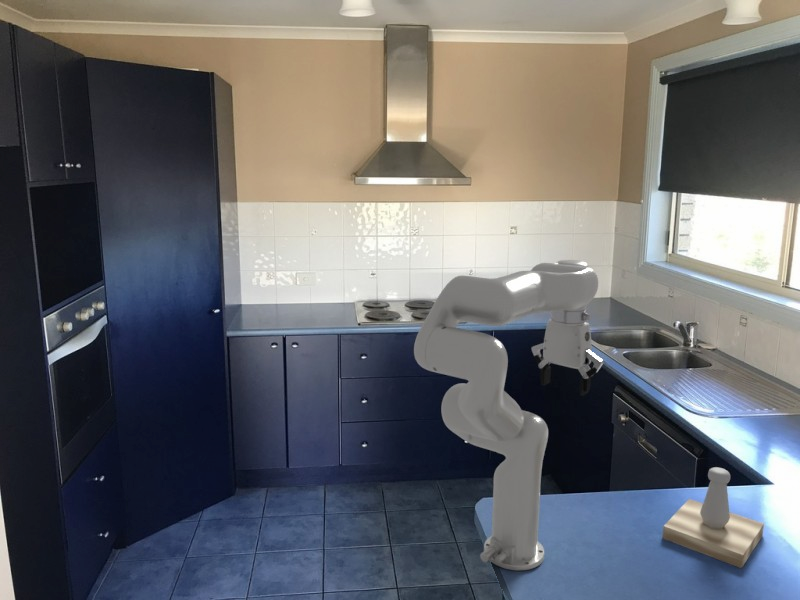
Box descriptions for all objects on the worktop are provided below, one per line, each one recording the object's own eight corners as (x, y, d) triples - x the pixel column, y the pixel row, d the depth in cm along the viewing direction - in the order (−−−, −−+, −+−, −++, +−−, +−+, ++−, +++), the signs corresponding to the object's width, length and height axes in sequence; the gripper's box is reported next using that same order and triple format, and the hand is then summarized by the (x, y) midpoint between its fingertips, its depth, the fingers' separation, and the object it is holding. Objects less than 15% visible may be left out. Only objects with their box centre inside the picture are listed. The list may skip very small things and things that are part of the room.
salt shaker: (719, 517, 145) (726, 463, 143) (733, 531, 140) (740, 476, 137) (694, 518, 145) (700, 464, 142) (707, 532, 139) (713, 476, 137)
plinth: (741, 568, 132) (743, 555, 131) (662, 538, 142) (663, 525, 142) (762, 535, 143) (764, 523, 143) (687, 510, 154) (689, 498, 153)
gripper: (612, 319, 141) (607, 393, 145) (542, 307, 153) (539, 376, 156) (597, 325, 136) (592, 402, 139) (525, 312, 147) (522, 384, 151)
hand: (564, 388), depth 148 cm, fingers open, 9 cm apart
